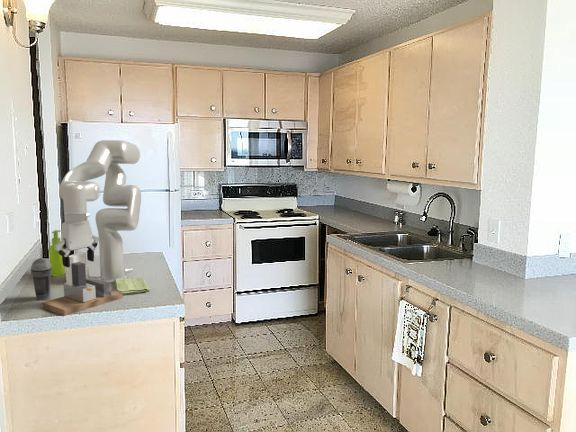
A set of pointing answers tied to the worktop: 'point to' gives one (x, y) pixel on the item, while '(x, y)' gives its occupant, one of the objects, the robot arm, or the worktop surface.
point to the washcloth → (131, 285)
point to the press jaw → (79, 285)
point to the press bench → (72, 306)
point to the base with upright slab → (73, 259)
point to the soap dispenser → (56, 257)
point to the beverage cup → (41, 278)
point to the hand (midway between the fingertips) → (79, 263)
